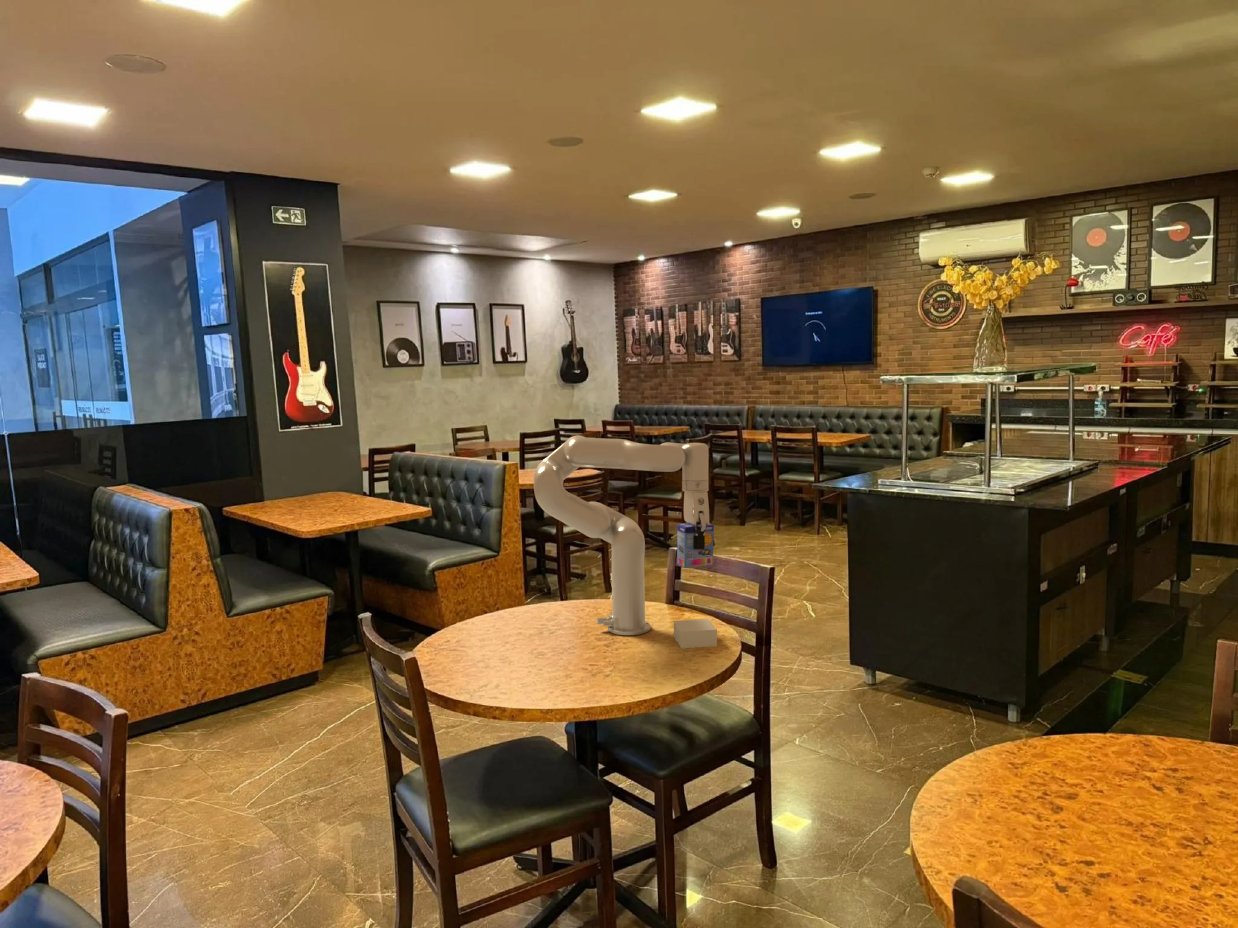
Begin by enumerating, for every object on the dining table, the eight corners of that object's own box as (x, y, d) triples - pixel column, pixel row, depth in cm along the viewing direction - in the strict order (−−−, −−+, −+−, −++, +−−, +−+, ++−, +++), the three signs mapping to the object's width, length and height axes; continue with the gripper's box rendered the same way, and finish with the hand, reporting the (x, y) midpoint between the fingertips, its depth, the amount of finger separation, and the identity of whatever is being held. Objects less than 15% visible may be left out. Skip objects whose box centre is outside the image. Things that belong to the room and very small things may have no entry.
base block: (681, 649, 231) (681, 631, 230) (673, 637, 241) (673, 620, 240) (716, 647, 232) (716, 629, 232) (708, 635, 242) (708, 618, 242)
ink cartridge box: (685, 568, 244) (685, 518, 242) (675, 564, 249) (675, 516, 247) (714, 564, 248) (714, 516, 246) (705, 561, 253) (705, 513, 251)
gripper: (717, 489, 238) (717, 552, 240) (697, 481, 255) (697, 540, 257) (692, 490, 236) (692, 553, 238) (674, 482, 253) (674, 541, 255)
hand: (695, 545), depth 247 cm, fingers closed on ink cartridge box, 5 cm apart
